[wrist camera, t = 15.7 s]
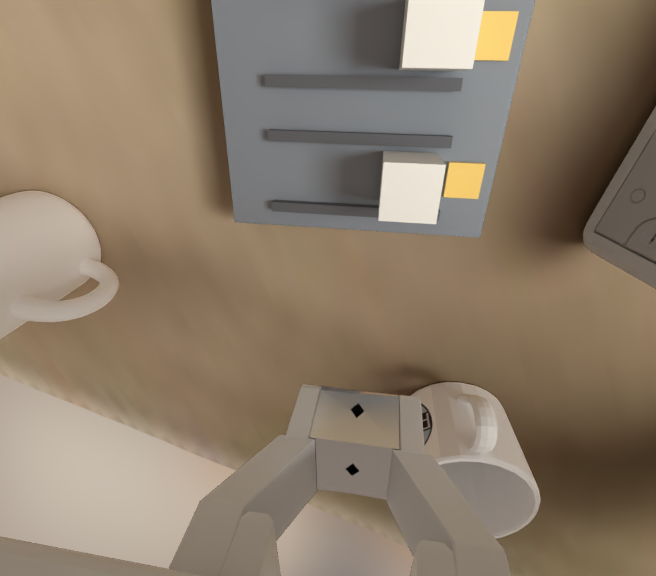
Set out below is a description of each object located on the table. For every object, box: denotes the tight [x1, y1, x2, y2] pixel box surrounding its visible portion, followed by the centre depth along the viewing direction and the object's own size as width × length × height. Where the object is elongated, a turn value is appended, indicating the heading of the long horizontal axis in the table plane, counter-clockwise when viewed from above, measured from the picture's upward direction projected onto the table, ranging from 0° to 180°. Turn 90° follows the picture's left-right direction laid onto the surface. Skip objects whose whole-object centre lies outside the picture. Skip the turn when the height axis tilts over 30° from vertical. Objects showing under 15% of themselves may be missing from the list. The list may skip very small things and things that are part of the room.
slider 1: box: [399, 0, 485, 71], centre depth 17 cm, size 3×3×4 cm
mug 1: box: [0, 191, 119, 339], centre depth 27 cm, size 12×8×10 cm
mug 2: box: [410, 382, 541, 539], centre depth 31 cm, size 13×10×8 cm
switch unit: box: [211, 0, 535, 238], centre depth 20 cm, size 16×21×4 cm
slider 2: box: [378, 151, 446, 224], centre depth 20 cm, size 3×3×4 cm
